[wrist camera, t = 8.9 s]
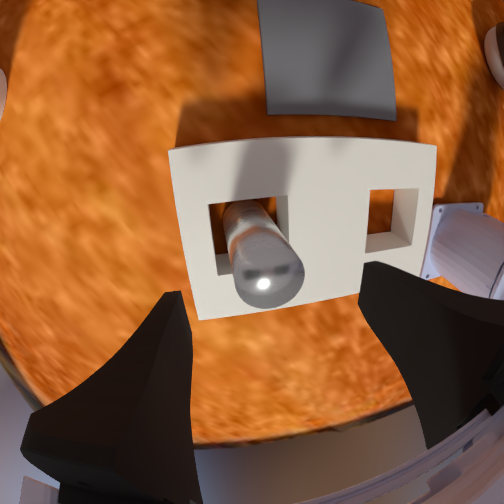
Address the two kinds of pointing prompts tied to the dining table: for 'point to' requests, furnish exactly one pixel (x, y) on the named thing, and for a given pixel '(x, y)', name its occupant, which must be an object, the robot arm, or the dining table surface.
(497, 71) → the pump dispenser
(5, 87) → the cylindrical container
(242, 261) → the peg
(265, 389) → the dining table surface
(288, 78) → the mat
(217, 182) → the hole block
